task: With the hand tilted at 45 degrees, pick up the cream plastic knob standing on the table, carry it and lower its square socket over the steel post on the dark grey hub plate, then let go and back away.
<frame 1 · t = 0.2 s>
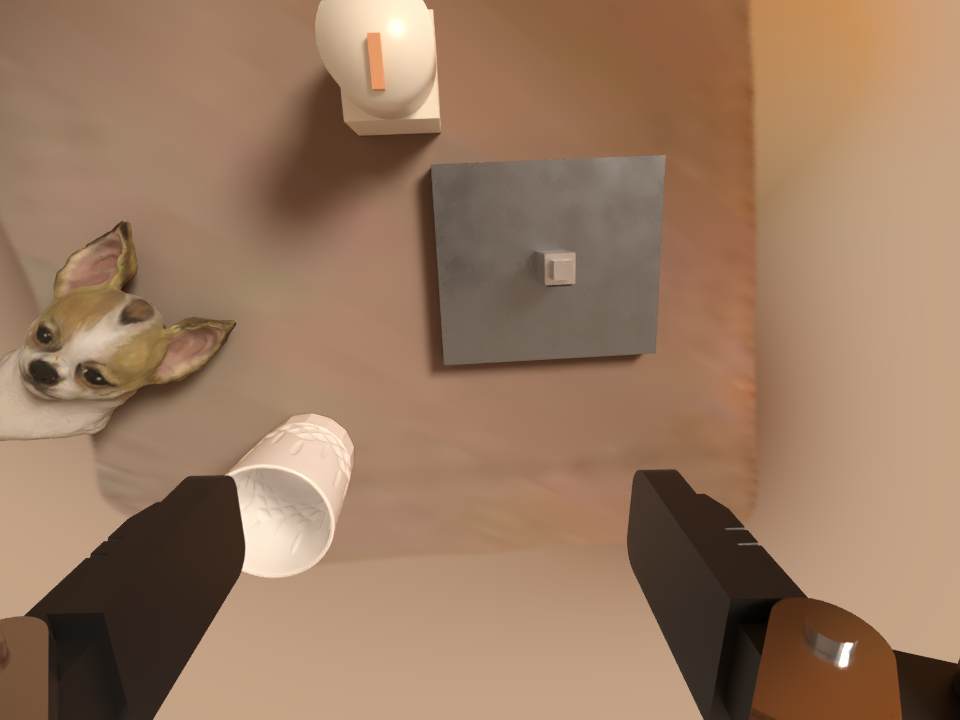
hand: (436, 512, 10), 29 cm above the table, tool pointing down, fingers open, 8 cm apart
knob: (396, 88, 34), on the table
white cup: (313, 450, 41), on the table
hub: (546, 263, 37), on the table
ceramic sculpture: (133, 336, 38), on the table
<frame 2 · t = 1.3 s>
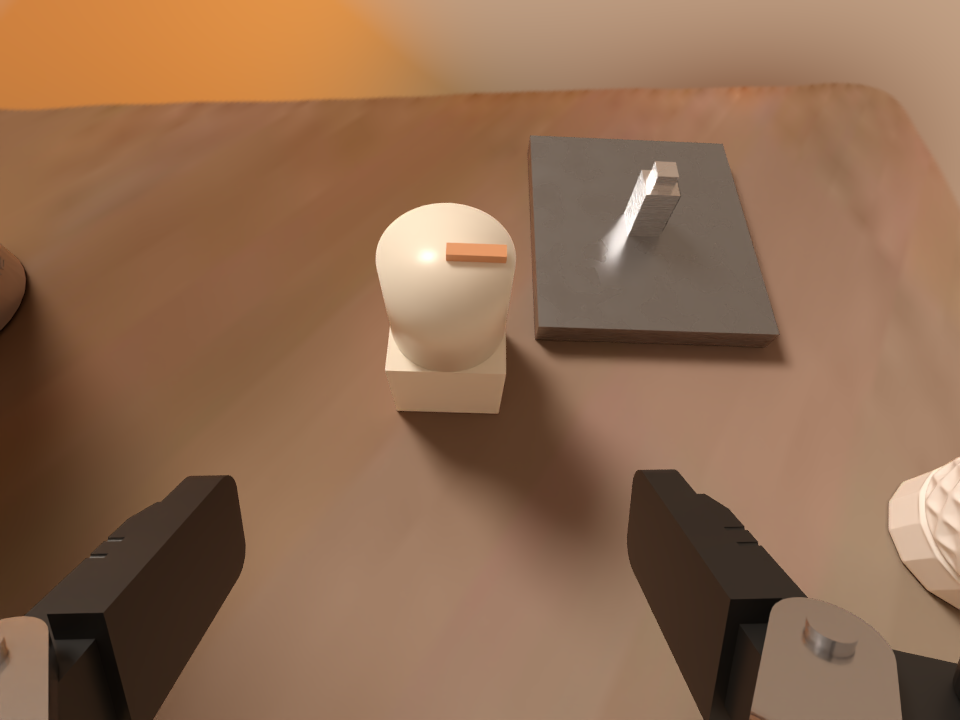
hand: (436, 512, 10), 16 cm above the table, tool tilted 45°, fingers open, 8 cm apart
knob: (449, 366, 29), on the table
white cup: (950, 541, 26), on the table
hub: (634, 239, 34), on the table
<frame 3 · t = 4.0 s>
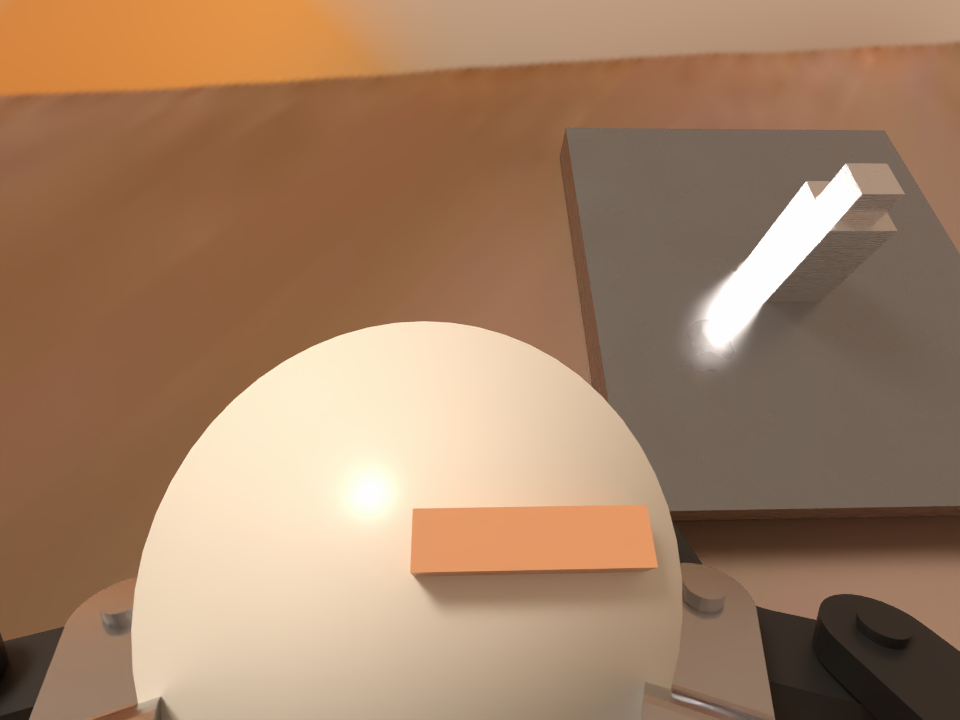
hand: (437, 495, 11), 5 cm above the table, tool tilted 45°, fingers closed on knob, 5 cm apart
knob: (445, 599, 14), on the table, touching gripper
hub: (762, 302, 19), on the table
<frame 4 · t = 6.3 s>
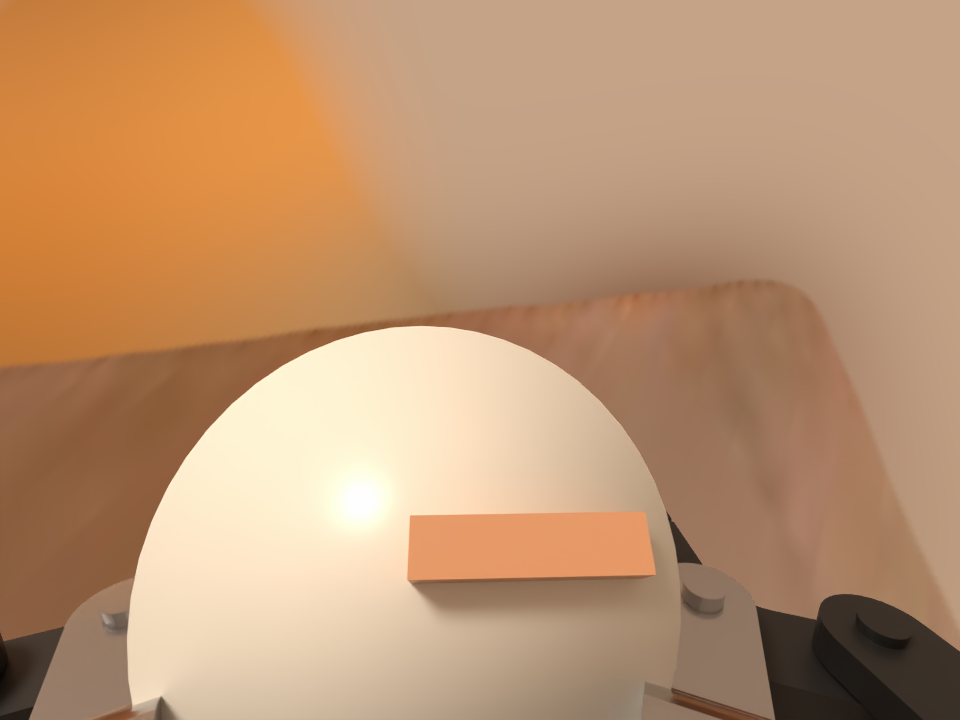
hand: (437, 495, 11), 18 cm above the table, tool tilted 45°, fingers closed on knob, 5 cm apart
knob: (444, 601, 14), point 14 cm above the table, touching gripper
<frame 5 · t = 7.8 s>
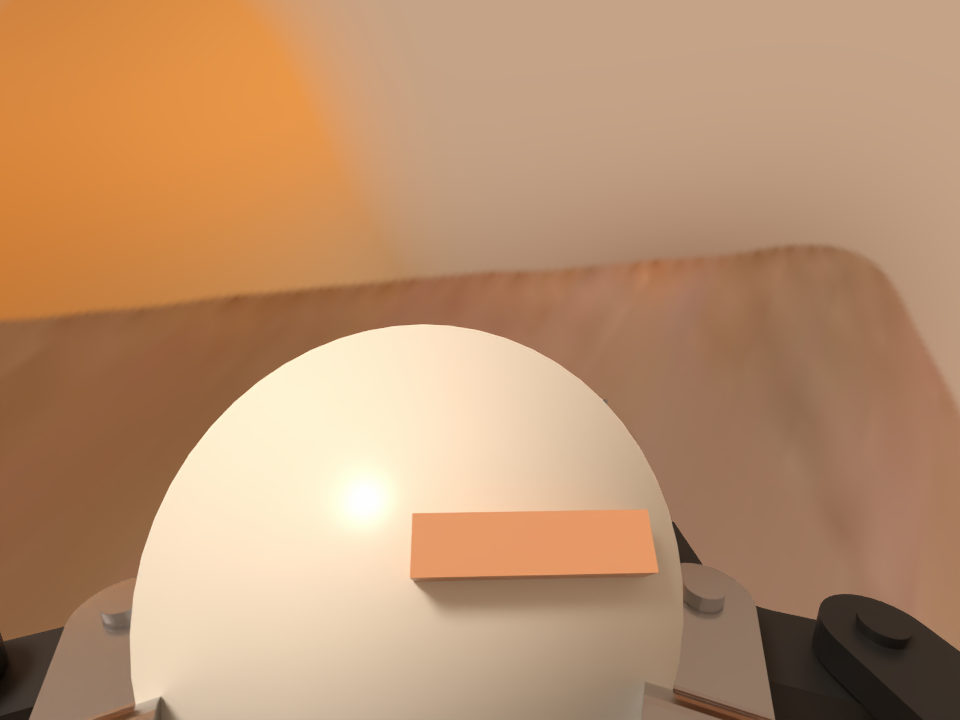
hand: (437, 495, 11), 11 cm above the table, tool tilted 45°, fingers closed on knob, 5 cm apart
knob: (445, 600, 14), point 6 cm above the table, touching gripper
when the fingers open (7 cm above the table, at t = 9.0 s): knob stays where it is, resting on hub.
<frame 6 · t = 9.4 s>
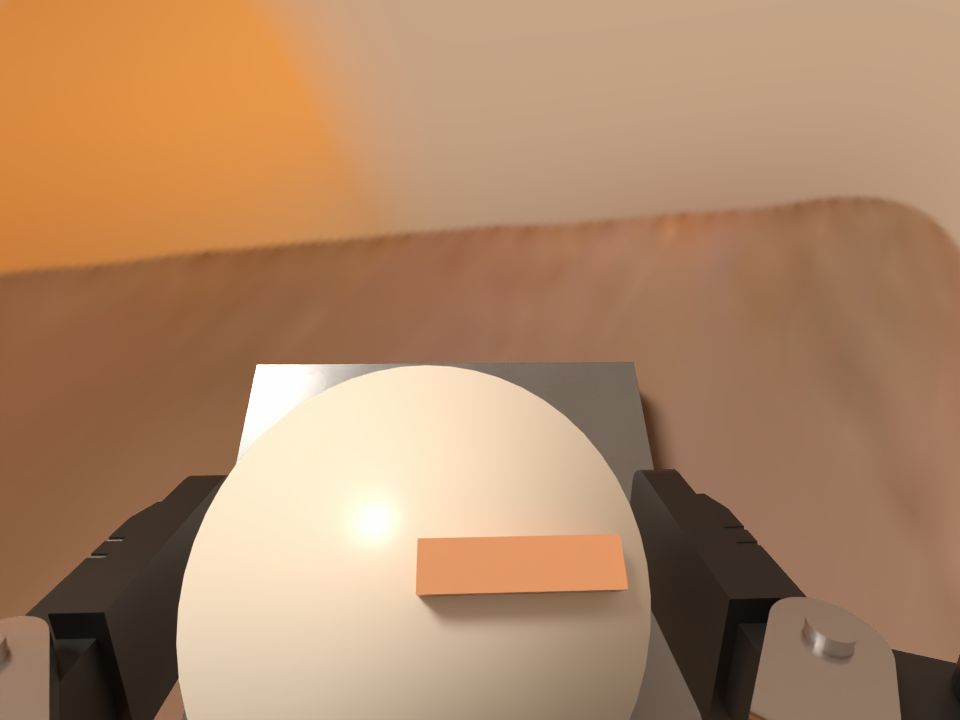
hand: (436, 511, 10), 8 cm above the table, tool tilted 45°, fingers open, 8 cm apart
knob: (445, 605, 15), point 1 cm above the table, touching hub
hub: (447, 603, 16), on the table
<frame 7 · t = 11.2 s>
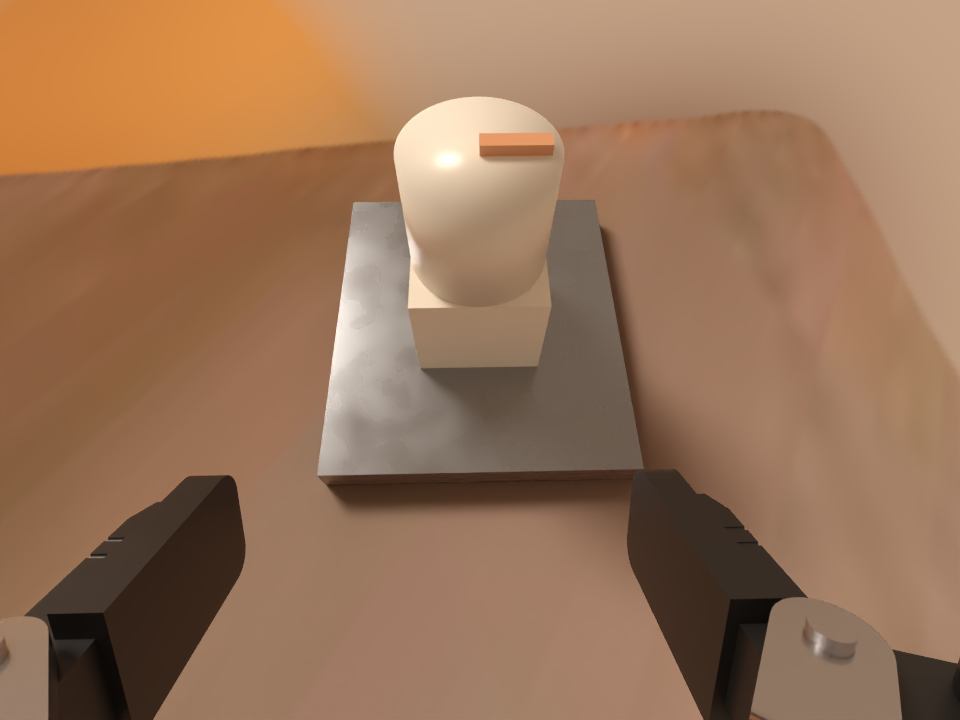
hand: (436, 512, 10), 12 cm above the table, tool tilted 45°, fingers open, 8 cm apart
knob: (477, 318, 25), point 1 cm above the table, touching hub
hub: (477, 331, 27), on the table
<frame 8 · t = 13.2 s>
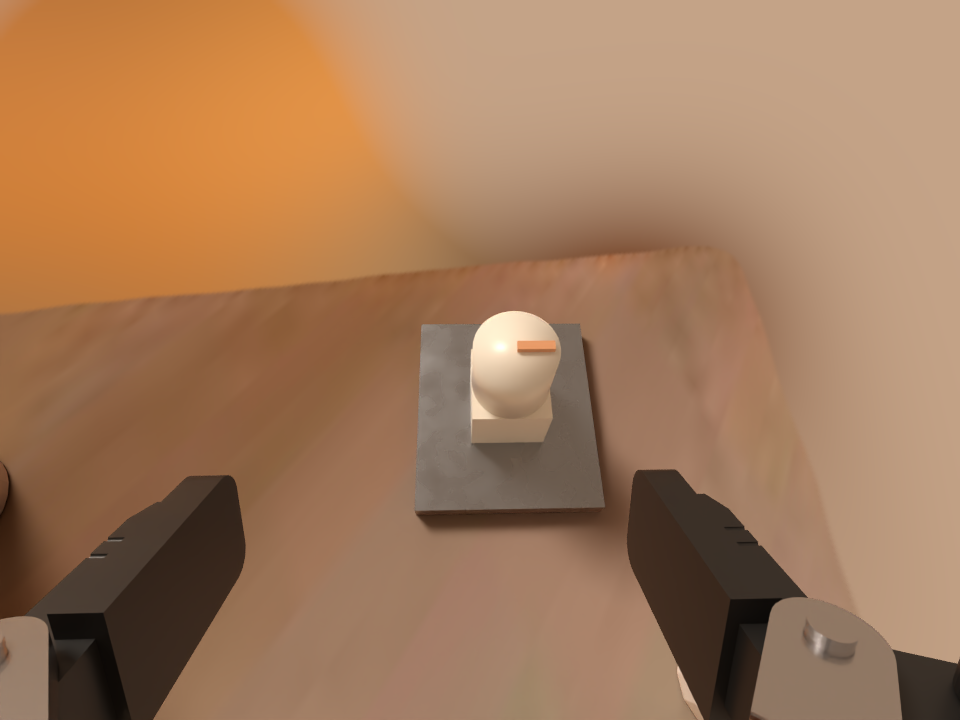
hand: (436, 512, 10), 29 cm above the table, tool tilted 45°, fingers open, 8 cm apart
knob: (505, 409, 41), point 1 cm above the table, touching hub
white cup: (725, 678, 34), on the table
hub: (504, 414, 42), on the table
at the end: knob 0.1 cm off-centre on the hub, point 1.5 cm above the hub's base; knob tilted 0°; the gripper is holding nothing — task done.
